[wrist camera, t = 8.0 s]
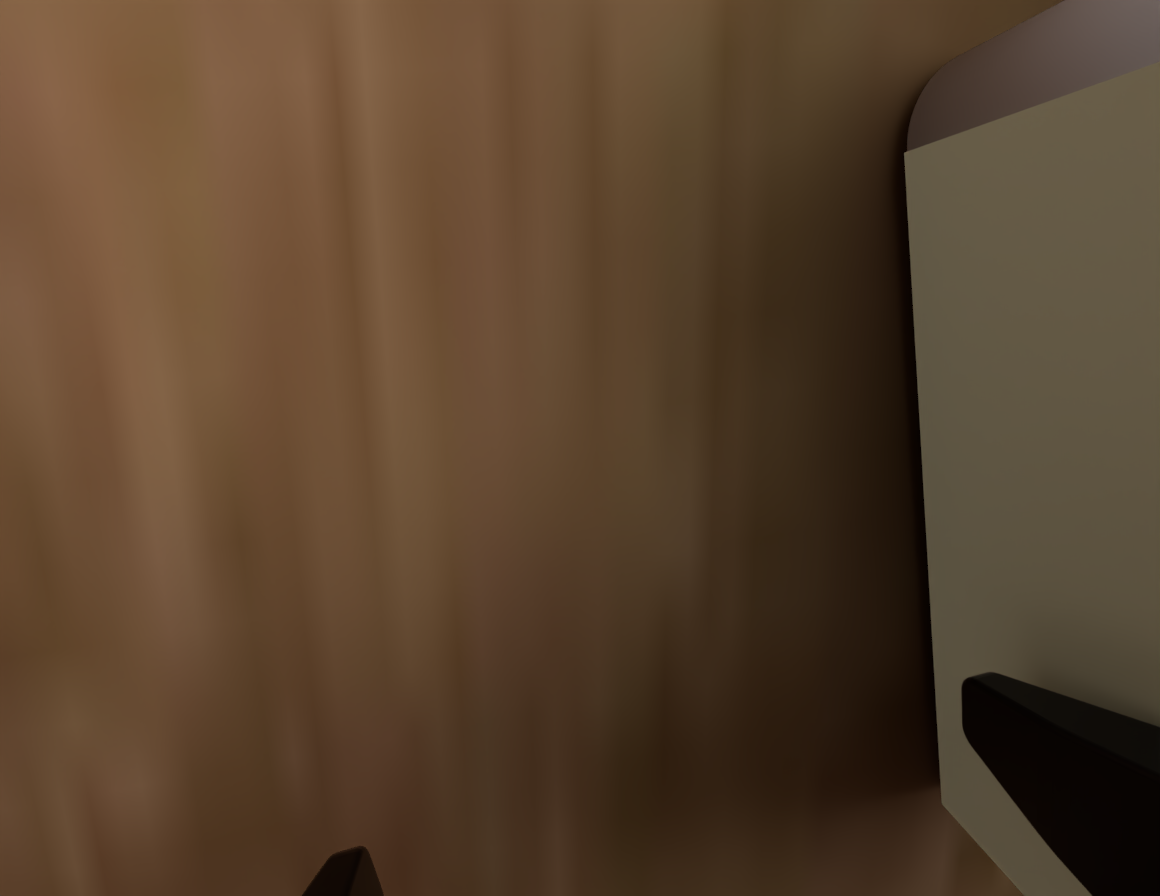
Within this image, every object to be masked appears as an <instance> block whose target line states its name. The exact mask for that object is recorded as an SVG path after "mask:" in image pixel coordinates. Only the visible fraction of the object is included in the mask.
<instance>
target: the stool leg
mask: <svg viewBox="0 0 1160 896" xmlns="http://www.w3.org/2000/svg"><path fill="white" fill-rule="evenodd" d="M904 160H905V178H906V195H907V212H908V230H909V247H910V264H911V282H912V299H913V316H914V333H915V351H916V368H917V385H918V403H919V420H920V437H921V455H922V472H923V489H924V506H925V524H926V541H927V558H928V576H929V593H930V610H931V628H932V645H933V662H934V679H935V697H936V714H937V731H938V749H939V766H940V783H941V801H942V805H943V806H944V807H945V808H946V809H947V810H948V812H949V813H950V814H951V815H952V816H953V817H954V818H955V819H956V820H957V821H958V823H959V824H960V825H961V826H962V827H963V828H964V829H965V830H966V831H967V833H968V834H969V835H970V836H971V837H972V838H973V839H974V840H975V841H976V843H977V844H978V845H979V846H980V847H981V848H982V849H983V850H984V851H985V853H986V854H987V855H988V856H989V857H990V858H991V859H992V860H993V861H994V862H995V864H996V865H997V866H998V867H999V868H1000V869H1001V870H1002V871H1003V872H1004V874H1005V875H1006V876H1007V877H1008V878H1009V879H1010V880H1011V881H1012V882H1013V884H1014V885H1015V886H1016V887H1017V888H1018V889H1019V890H1020V891H1021V892H1022V894H1023V895H1024V896H1092V895H1091V894H1090V893H1089V892H1088V891H1087V890H1086V888H1085V887H1084V886H1083V885H1082V884H1081V883H1080V882H1079V881H1078V880H1077V878H1076V877H1075V876H1074V875H1073V874H1072V873H1071V872H1070V871H1069V870H1068V868H1067V867H1066V866H1065V865H1064V864H1063V863H1062V862H1061V860H1060V859H1059V858H1058V857H1057V856H1056V855H1055V854H1054V852H1053V851H1052V850H1051V849H1050V848H1049V846H1048V845H1047V844H1046V843H1045V842H1044V840H1043V839H1042V838H1041V837H1040V835H1039V834H1038V833H1037V832H1036V830H1035V829H1034V828H1033V826H1032V825H1031V824H1030V822H1029V821H1028V820H1027V819H1026V817H1025V816H1024V815H1023V813H1022V812H1021V811H1020V809H1019V808H1018V807H1017V806H1016V804H1015V803H1014V802H1013V800H1012V799H1011V798H1010V796H1009V795H1008V794H1007V792H1006V791H1005V790H1004V789H1003V787H1002V786H1001V785H1000V783H999V782H998V781H997V779H996V778H995V777H994V775H993V774H992V773H991V772H990V770H989V769H988V768H987V766H986V765H985V764H984V762H983V761H982V760H981V758H980V757H979V756H978V755H977V753H976V752H975V751H974V749H973V748H972V747H971V745H970V744H969V742H968V740H967V739H966V737H965V734H964V731H963V727H962V700H961V686H962V683H963V681H964V679H966V678H968V677H971V676H974V675H978V674H982V673H985V672H995V673H999V674H1002V675H1005V676H1008V677H1011V678H1014V679H1017V680H1020V681H1023V682H1026V683H1029V684H1032V685H1035V686H1038V687H1041V688H1044V689H1047V690H1050V691H1053V692H1056V693H1059V694H1062V695H1065V696H1068V697H1071V698H1074V699H1077V700H1080V701H1083V702H1086V703H1089V704H1092V705H1095V706H1098V707H1101V708H1104V709H1107V710H1110V711H1113V712H1116V713H1119V714H1122V715H1125V716H1128V717H1132V718H1135V719H1138V720H1141V721H1144V722H1147V723H1150V724H1153V725H1156V726H1159V727H1160V0H1064V1H1062V2H1061V3H1059V4H1057V5H1055V6H1053V7H1051V8H1049V9H1047V10H1045V11H1043V12H1041V13H1039V14H1038V15H1036V16H1034V17H1032V18H1030V19H1028V20H1026V21H1024V22H1022V23H1020V24H1018V25H1016V26H1015V27H1013V28H1011V29H1009V30H1007V31H1005V32H1003V33H1001V34H999V35H997V36H995V37H993V38H992V39H990V40H988V41H986V42H984V43H982V44H980V45H978V46H976V47H974V48H972V49H970V50H969V51H967V52H965V53H963V54H961V55H959V56H957V57H956V58H954V59H952V60H951V61H949V62H948V63H947V64H945V65H944V66H943V67H942V68H941V69H940V70H939V71H938V72H937V73H936V74H935V75H934V76H933V77H932V78H931V79H930V81H929V82H928V83H927V85H926V86H925V88H924V89H923V91H922V93H921V94H920V96H919V98H918V100H917V103H916V105H915V107H914V110H913V113H912V116H911V120H910V124H909V129H908V138H907V152H905V153H904Z"/></svg>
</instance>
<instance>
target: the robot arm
mask: <svg viewBox="0 0 1160 896" xmlns="http://www.w3.org/2000/svg"><path fill="white" fill-rule="evenodd" d="M961 700H962V727H963V731H964V734H965V737H966V739H967V740H968V742H969V744H970V745H971V747H972V748H973V749H974V751H975V752H976V753H977V755H978V756H979V757H980V758H981V760H982V761H983V762H984V764H985V765H986V766H987V768H988V769H989V770H990V772H991V773H992V774H993V775H994V777H995V778H996V779H997V781H998V782H999V783H1000V785H1001V786H1002V787H1003V789H1004V790H1005V791H1006V792H1007V794H1008V795H1009V796H1010V798H1011V799H1012V800H1013V802H1014V803H1015V804H1016V806H1017V807H1018V808H1019V809H1020V811H1021V812H1022V813H1023V815H1024V816H1025V817H1026V819H1027V820H1028V821H1029V822H1030V824H1031V825H1032V826H1033V828H1034V829H1035V830H1036V832H1037V833H1038V834H1039V835H1040V837H1041V838H1042V839H1043V840H1044V842H1045V843H1046V844H1047V845H1048V846H1049V848H1050V849H1051V850H1052V851H1053V852H1054V854H1055V855H1056V856H1057V857H1058V858H1059V859H1060V860H1061V862H1062V863H1063V864H1064V865H1065V866H1066V867H1067V868H1068V870H1069V871H1070V872H1071V873H1072V874H1073V875H1074V876H1075V877H1076V878H1077V880H1078V881H1079V882H1080V883H1081V884H1082V885H1083V886H1084V887H1085V888H1086V890H1087V891H1088V892H1089V893H1090V894H1091V895H1092V896H1160V727H1159V726H1156V725H1153V724H1150V723H1147V722H1144V721H1141V720H1138V719H1135V718H1132V717H1128V716H1125V715H1122V714H1119V713H1116V712H1113V711H1110V710H1107V709H1104V708H1101V707H1098V706H1095V705H1092V704H1089V703H1086V702H1083V701H1080V700H1077V699H1074V698H1071V697H1068V696H1065V695H1062V694H1059V693H1056V692H1053V691H1050V690H1047V689H1044V688H1041V687H1038V686H1035V685H1032V684H1029V683H1026V682H1023V681H1020V680H1017V679H1014V678H1011V677H1008V676H1005V675H1002V674H999V673H995V672H985V673H982V674H978V675H974V676H971V677H968V678H966V679H964V681H963V683H962V686H961ZM302 896H384V895H383V891H382V888H381V885H380V882H379V880H378V877H377V874H376V871H375V868H374V865H373V862H372V859H371V857H370V854H369V852H368V850H367V849H366V848H365V847H363V846H358V847H354V848H351V849H347V850H344V851H340V852H337V853H335V854H333V855H332V856H330V857H329V859H328V860H327V861H326V862H325V864H324V865H323V866H322V868H321V869H320V871H319V872H318V873H317V875H316V876H315V878H314V879H313V880H312V882H311V883H310V884H309V886H308V887H307V889H306V890H305V891H304V893H303V894H302Z"/></svg>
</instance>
